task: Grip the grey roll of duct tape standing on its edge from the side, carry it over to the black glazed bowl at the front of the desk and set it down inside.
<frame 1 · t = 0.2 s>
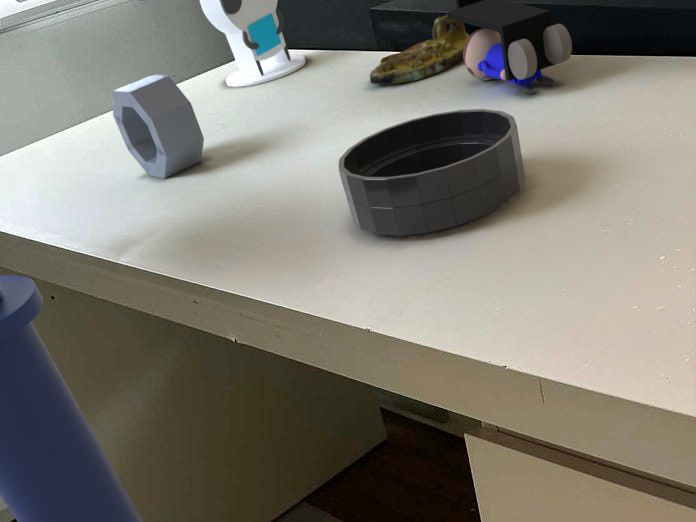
panda figurine: (265, 74, 131), on the table
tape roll: (174, 168, 105), on the table
bowl: (439, 204, 81), on the table
figurine character: (515, 86, 103), on the table
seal: (423, 69, 115), on the table
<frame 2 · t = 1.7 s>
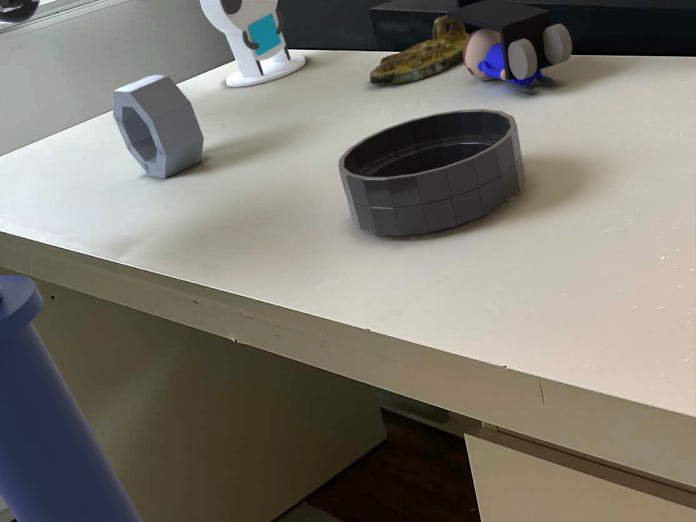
nothing on the table moved.
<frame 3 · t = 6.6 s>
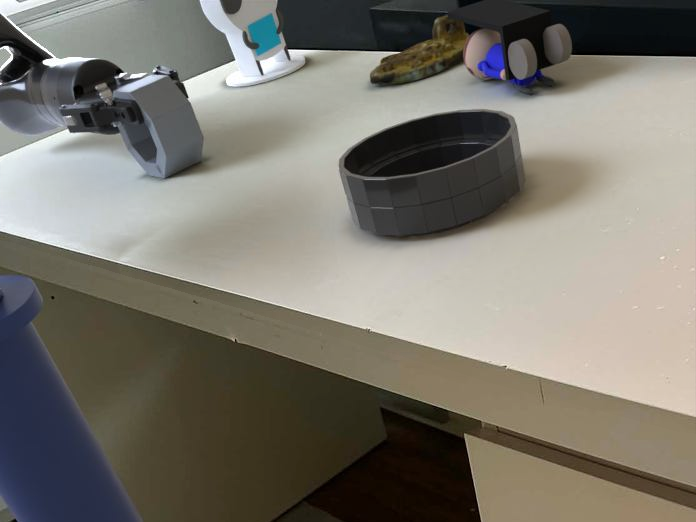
hand: (160, 102, 99), 7 cm above the table, tool horizontal, fingers closed on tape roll, 5 cm apart
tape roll: (174, 168, 105), on the table, touching gripper
everything else where it was.
when the fingers open (7 cm above the table, at t = 17.8 s): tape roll stays where it is, resting on bowl.
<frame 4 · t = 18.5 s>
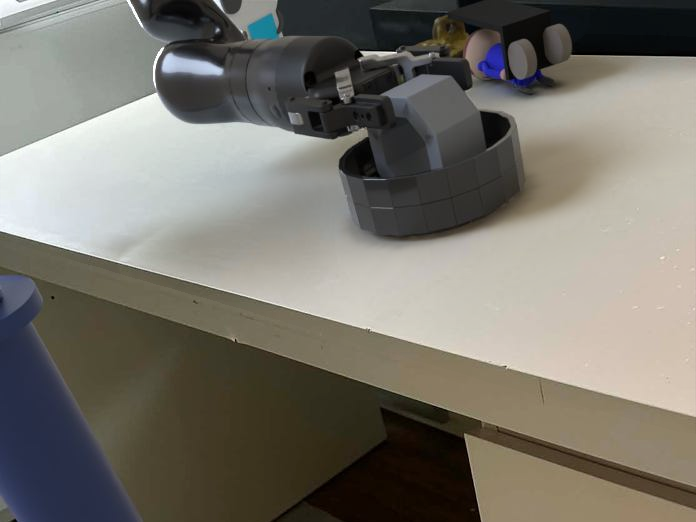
hand: (430, 93, 74), 9 cm above the table, tool horizontal, fingers open, 8 cm apart
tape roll: (438, 196, 81), point 1 cm above the table, touching bowl
everything else where it was.
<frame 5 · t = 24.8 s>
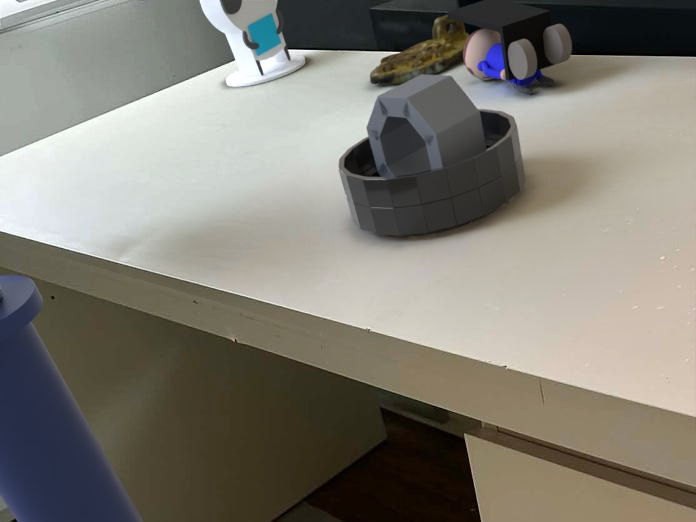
nothing on the table moved.
at the end: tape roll inside the target area in the bowl (0.1 cm from its centre), point 0.6 cm above the bowl's base; the gripper is holding nothing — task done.
